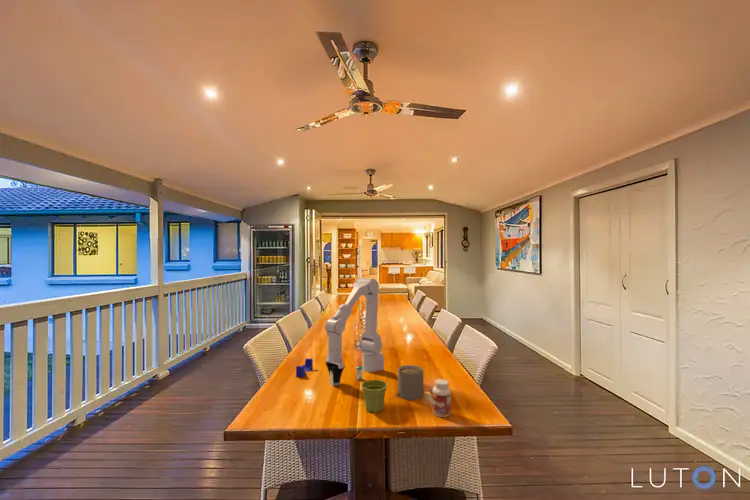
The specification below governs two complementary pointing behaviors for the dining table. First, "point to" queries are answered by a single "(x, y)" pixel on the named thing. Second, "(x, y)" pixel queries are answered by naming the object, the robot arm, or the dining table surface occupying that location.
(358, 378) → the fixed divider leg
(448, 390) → the pill bottle
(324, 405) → the dining table surface
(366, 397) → the plant pot
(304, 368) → the cable clip
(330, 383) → the leg
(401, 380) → the coffee mug
